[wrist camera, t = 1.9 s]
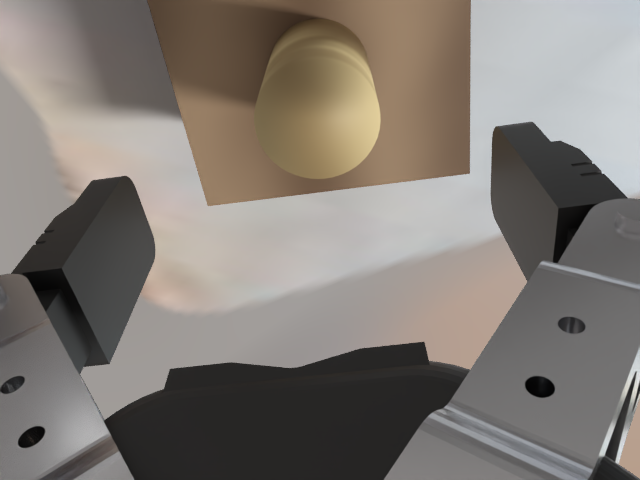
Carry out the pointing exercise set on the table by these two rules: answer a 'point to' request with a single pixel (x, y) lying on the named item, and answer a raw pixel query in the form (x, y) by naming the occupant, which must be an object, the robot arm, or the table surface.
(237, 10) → the lid
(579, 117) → the table surface
